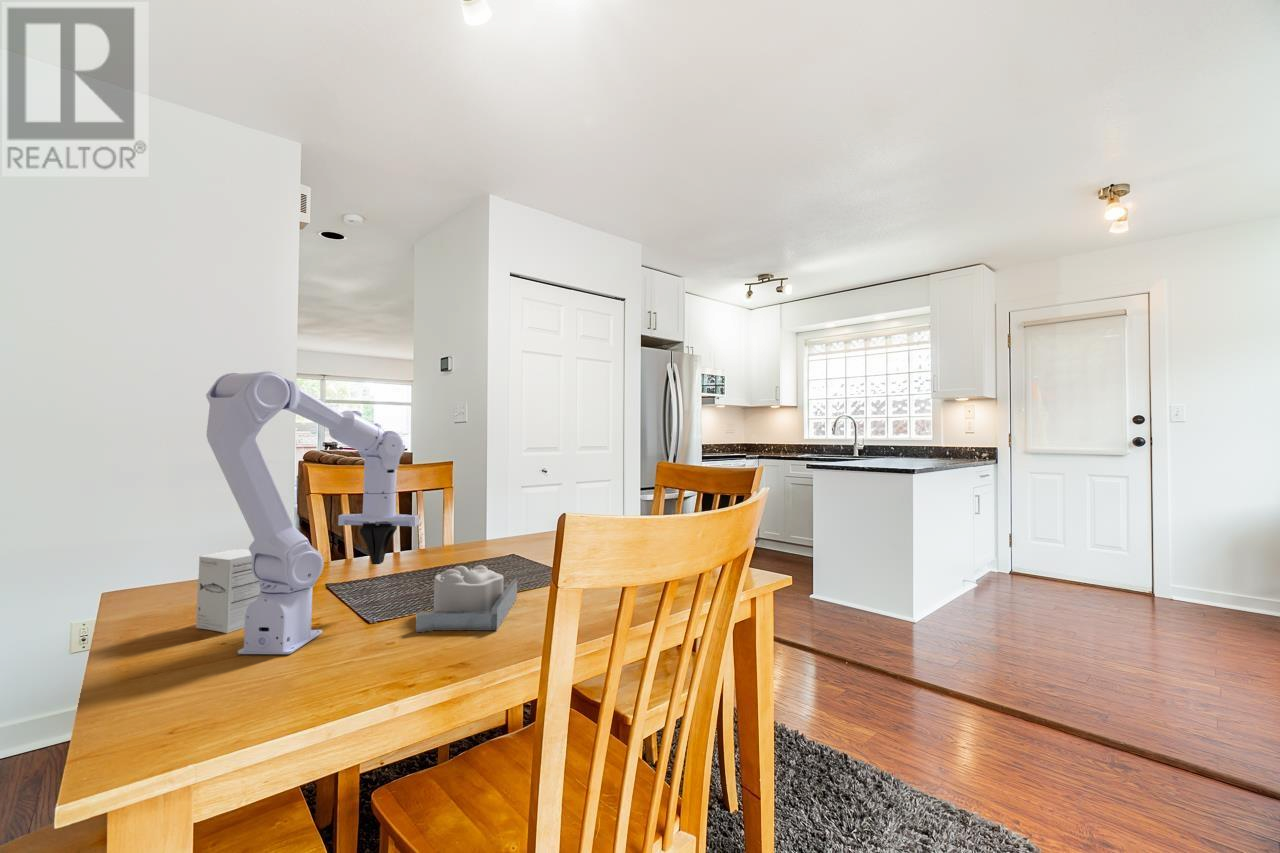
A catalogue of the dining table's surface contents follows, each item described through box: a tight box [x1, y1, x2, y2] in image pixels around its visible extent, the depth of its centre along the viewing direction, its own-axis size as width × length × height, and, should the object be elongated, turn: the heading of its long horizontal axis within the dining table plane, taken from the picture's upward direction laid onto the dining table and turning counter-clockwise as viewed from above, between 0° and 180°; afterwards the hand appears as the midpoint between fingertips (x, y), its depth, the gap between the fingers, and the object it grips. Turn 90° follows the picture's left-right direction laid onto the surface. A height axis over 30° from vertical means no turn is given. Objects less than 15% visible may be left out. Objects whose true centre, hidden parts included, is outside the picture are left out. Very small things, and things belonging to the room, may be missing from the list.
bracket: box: [415, 579, 518, 634], centre depth 104 cm, size 21×14×4 cm, turn 2°
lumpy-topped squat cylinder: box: [433, 564, 504, 612], centre depth 104 cm, size 10×13×9 cm
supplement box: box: [195, 548, 260, 634], centre depth 95 cm, size 7×7×13 cm
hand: (377, 563), depth 104 cm, fingers closed
